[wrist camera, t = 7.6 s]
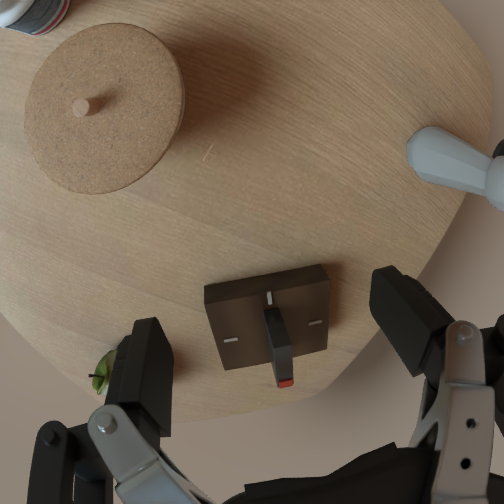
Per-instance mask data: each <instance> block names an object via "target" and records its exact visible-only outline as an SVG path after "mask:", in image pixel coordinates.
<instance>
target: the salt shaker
mask: <svg viewBox="0 0 504 504" xmlns="http://www.w3.org/2000/svg"><path fill="white" fill-rule="evenodd" d="M406 147H407V161H408V162H409V164H410V165H411V166H412V168H413V169H414V170H415V172H416V173H417V174H418V176H419V177H420V178H421V179H422V180H424V181H427V182H429V183H431V184H436V185H441V186H445V187H450V188H454V189H458V190H463V191H467V192H471V193H475V194H479V195H482V196H486V197H487V199H488V202H489V203H490V204H491V205H492V206H494V207H495V208H497V209H498V210H500V211H502V212H504V156H497V157H496V158H495V159H494V158H492V157H491V156H489V155H487V154H486V153H484V152H482V151H481V150H479V149H477V148H476V147H474V146H472V145H470V144H469V143H467V142H465V141H463V140H462V139H460V138H458V137H456V136H454V135H453V134H451V133H449V132H447V131H445V130H443V129H441V128H440V127H425V128H423V129H421V130H419V131H417V132H415V133H414V135H413V136H412V137H411V138H410V140H409V141H408V142H407V143H406Z"/></svg>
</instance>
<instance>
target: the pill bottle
mask: <svg viewBox="0 0 504 504" xmlns="http://www.w3.org/2000/svg"><path fill="white" fill-rule="evenodd" d="M68 6H69V0H0V27H2V28H7V29H11V30H15V31H18V32H22V33H25V34H28V35H31V36H40V35H43V34H45V33H47V32H49V31H50V30H51V29H53V28H54V27H55V26H56V25H57V24H58V23H59V22H60V21H61V20H62V18H63V17H64V15H65V13H66V11H67V9H68Z"/></svg>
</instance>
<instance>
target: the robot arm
mask: <svg viewBox="0 0 504 504" xmlns="http://www.w3.org/2000/svg"><path fill="white" fill-rule="evenodd" d="M369 306H370V311H371V314H372V316H373V318H374V319H375V321H376V322H377V324H378V325H379V326H380V328H381V329H382V330H383V332H384V333H385V335H386V337H387V338H388V340H389V341H390V343H391V344H392V345H393V347H394V349H395V350H396V352H397V353H398V355H399V356H400V358H401V359H402V361H403V363H404V364H405V366H406V367H407V369H408V370H409V372H410V373H411V375H412V376H413V377H415V376H417V375H420V374H422V373H424V374H425V376H426V379H425V382H424V387H423V394H422V400H421V405H420V411H419V417H418V421H417V425H416V428H415V431H414V433H413V435H412V437H411V440H410V443H409V446H408V447H405V448H397V447H396V445H395V442H392V443H390V444H387V445H385V446H383V447H381V448H378V449H376V450H373V451H371V452H368V453H365V454H363V455H360V456H359V457H357V458H356V459H354V460H353V461H351V462H349V463H348V464H346V465H344V466H343V467H341V468H339V469H338V470H336V471H334V472H333V473H331V474H329V475H327V476H323V477H305V478H280V479H275V480H269V481H264V482H258V483H251V484H245V485H244V487H245V492H242V493H239V494H237V495H235V496H233V497H231V498H230V499H228V500H227V501H225V502H224V503H222V504H504V477H503V476H500V475H497V474H493V473H490V472H489V471H490V465H491V458H492V449H493V438H494V420H495V422H496V423H497V425H498V427H499V429H500V431H501V433H502V435H503V437H504V314H503V315H501V316H500V317H499V318H498V320H497V323H496V324H495V327H490V328H484V329H478V328H477V327H476V326H475V325H474V324H472V323H470V322H467V321H461V320H460V321H455V320H454V319H453V317H452V316H451V315H450V314H449V313H448V312H447V311H446V310H445V309H444V308H443V307H442V305H440V304H439V303H438V301H437V300H436V299H435V298H434V297H432V295H431V294H430V293H429V292H428V291H426V290H425V288H424V287H423V286H422V285H421V284H420V283H419V282H418V281H417V280H415V279H413V278H412V277H410V276H408V275H402V274H401V272H400V271H399V270H398V269H397V268H396V267H394V266H393V265H390V266H387V267H383V268H379V269H376V270H374V271H373V273H372V281H371V291H370V300H369ZM173 365H174V358H173V352H172V348H171V346H170V344H169V342H168V340H167V338H166V336H165V333H164V331H163V329H162V327H161V325H160V323H159V321H158V319H157V318H156V317H152V318H146V319H140V320H136V321H135V323H134V326H133V330H132V334H131V335H128V336H125V337H124V339H123V340H122V342H121V343H120V344H119V346H118V348H117V352H116V356H115V360H114V364H113V370H112V372H111V376H110V381H109V385H108V390H107V394H106V399H105V404H104V406H101V407H99V408H98V409H96V410H95V411H94V412H93V413H92V415H91V416H90V418H89V420H88V423H85V424H82V425H78V426H75V427H71V428H66V426H64V425H63V424H62V423H61V422H59V421H49V422H47V423H45V424H44V425H43V426H42V427H41V428H40V430H39V431H38V434H37V437H36V442H35V447H34V453H33V458H32V464H31V471H30V478H29V487H28V496H27V504H113V477H114V478H115V480H116V482H117V485H116V486H115V491H116V493H117V495H118V496H119V498H120V499H121V501H122V502H123V503H124V504H216V503H215V502H213V500H211V499H210V498H209V497H208V496H207V495H206V494H205V493H204V492H202V491H201V490H200V489H199V488H198V487H196V485H194V484H193V483H192V482H191V481H190V480H189V479H188V478H187V477H186V475H185V474H184V473H183V472H182V471H181V470H180V469H179V468H178V467H177V466H176V465H175V464H174V463H173V461H172V460H171V459H170V458H169V457H168V456H167V454H166V453H165V452H164V451H163V450H162V449H161V448H160V437H171V406H172V383H173ZM74 475H75V482H74V501H73V481H74Z"/></svg>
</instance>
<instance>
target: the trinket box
mask: <svg viewBox="0 0 504 504" xmlns="http://www.w3.org/2000/svg"><path fill="white" fill-rule="evenodd" d="M184 108H185V89H184V83H183V77H182V74H181V70H180V67H179V65H178V63H177V61H176V59H175V57H174V55H173V54H172V52H171V51H170V50H169V48H168V47H167V46H166V44H165V43H164V42H163V41H161V40H160V39H159V38H158V37H157V36H156V35H154V34H153V33H151V32H149V31H147V30H146V29H144V28H141V27H138V26H135V25H131V24H124V23H107V24H102V25H97V26H93V27H90V28H88V29H85V30H82V31H80V32H78V33H77V34H75V35H73V36H71V37H70V38H68V39H67V40H66V41H64V42H63V43H62V44H60V45H59V46H58V47H57V48H56V49H55V50H54V51H53V52H52V53H51V54H50V55H49V56H48V57H47V59H46V60H45V61H44V63H43V64H42V65H41V67H40V69H39V70H38V72H37V74H36V76H35V77H34V79H33V82H32V84H31V87H30V90H29V93H28V96H27V100H26V105H25V114H24V128H25V134H26V140H27V143H28V146H29V150H30V152H31V154H32V156H33V158H34V160H35V162H36V163H37V165H38V166H39V168H40V169H41V171H42V172H43V173H44V174H45V175H46V176H47V177H48V178H49V179H51V180H52V181H53V182H55V183H56V184H58V185H59V186H61V187H63V188H65V189H67V190H70V191H73V192H77V193H81V194H90V195H93V194H105V193H109V192H114V191H117V190H119V189H122V188H124V187H127V186H129V185H131V184H132V183H134V182H136V181H137V180H139V179H140V178H142V177H143V176H144V175H145V174H147V173H148V172H149V171H150V170H151V169H152V168H153V167H154V166H155V165H156V164H157V163H158V162H159V161H160V160H161V159H162V157H163V156H164V154H165V153H166V152H167V150H168V149H169V147H170V146H171V144H172V142H173V140H174V138H175V136H176V134H177V132H178V130H179V127H180V124H181V121H182V118H183V113H184Z"/></svg>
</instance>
